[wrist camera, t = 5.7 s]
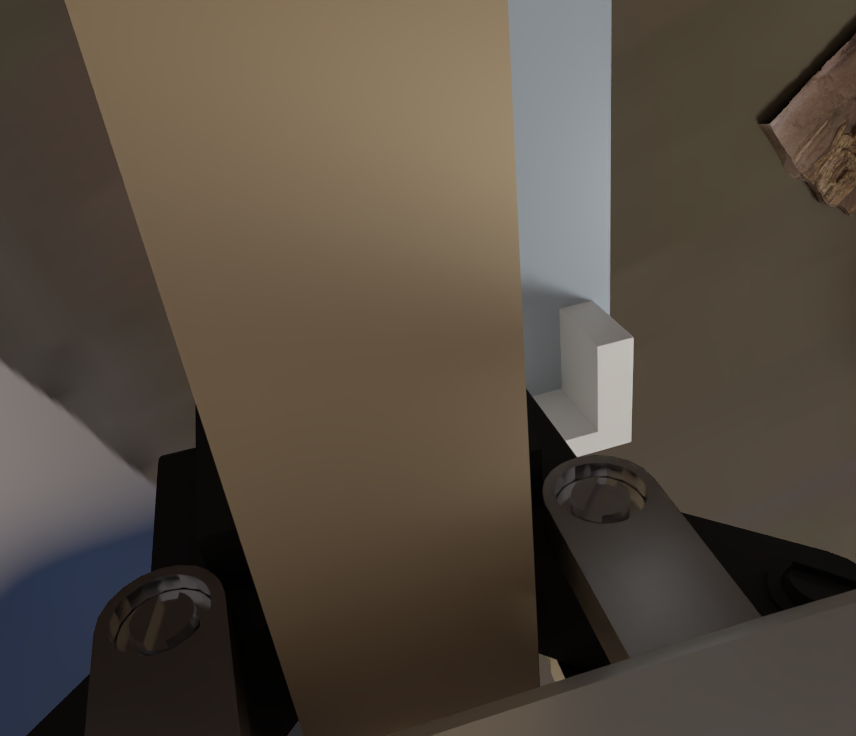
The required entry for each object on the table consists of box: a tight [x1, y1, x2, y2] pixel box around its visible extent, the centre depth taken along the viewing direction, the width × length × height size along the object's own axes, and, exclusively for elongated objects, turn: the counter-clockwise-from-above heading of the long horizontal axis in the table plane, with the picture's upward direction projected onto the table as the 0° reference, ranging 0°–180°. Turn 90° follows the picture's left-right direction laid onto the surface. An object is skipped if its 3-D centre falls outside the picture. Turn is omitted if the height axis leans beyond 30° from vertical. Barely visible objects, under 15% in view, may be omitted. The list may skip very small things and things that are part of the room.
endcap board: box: [508, 0, 634, 457], centre depth 26 cm, size 27×8×4 cm, turn 7°
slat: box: [65, 0, 540, 736], centre depth 10 cm, size 20×2×6 cm, turn 7°
